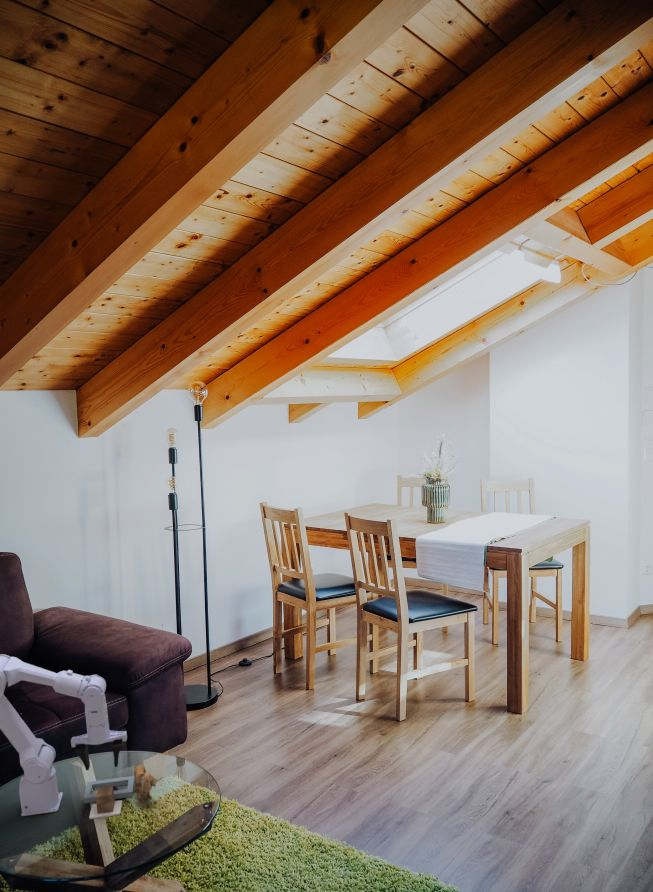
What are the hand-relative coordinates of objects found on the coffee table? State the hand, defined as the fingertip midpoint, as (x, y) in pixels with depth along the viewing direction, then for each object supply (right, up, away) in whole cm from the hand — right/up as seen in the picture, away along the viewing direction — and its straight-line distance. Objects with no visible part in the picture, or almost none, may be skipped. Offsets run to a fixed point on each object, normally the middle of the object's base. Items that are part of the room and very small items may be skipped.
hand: (102, 766), depth 210 cm
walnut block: (+2, -10, -4) cm, 11 cm away
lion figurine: (+11, -9, +2) cm, 14 cm away
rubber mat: (+2, -10, -4) cm, 11 cm away
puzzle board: (+1, -9, +4) cm, 10 cm away
